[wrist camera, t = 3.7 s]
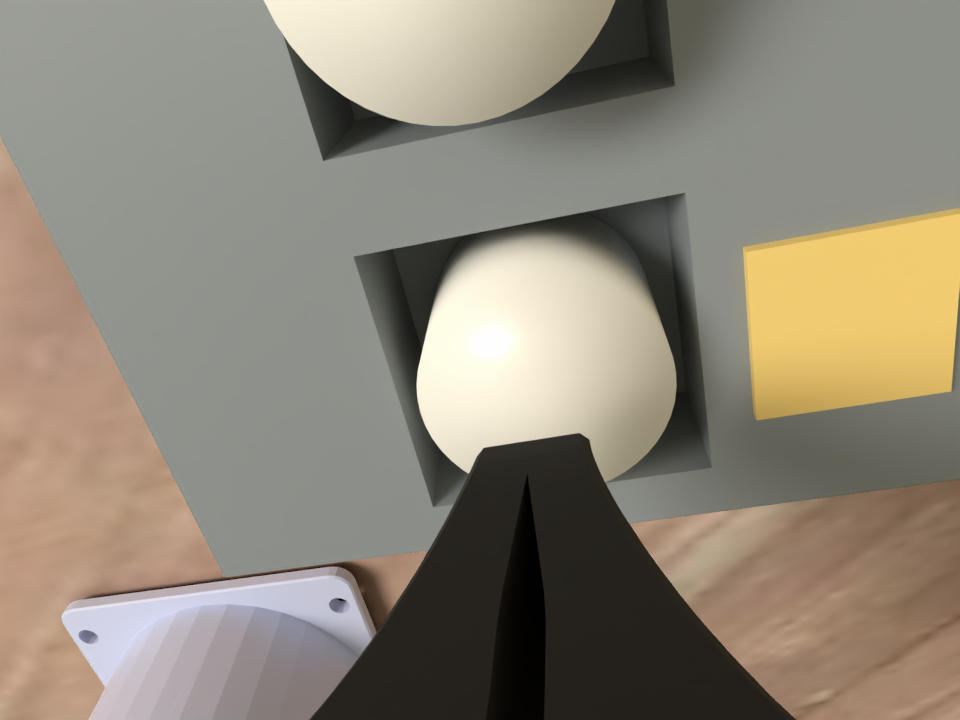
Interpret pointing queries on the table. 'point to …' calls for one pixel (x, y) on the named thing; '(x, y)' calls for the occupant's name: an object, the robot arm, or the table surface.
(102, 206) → the button board
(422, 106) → the button middle
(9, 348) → the table surface
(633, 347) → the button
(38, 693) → the table surface
